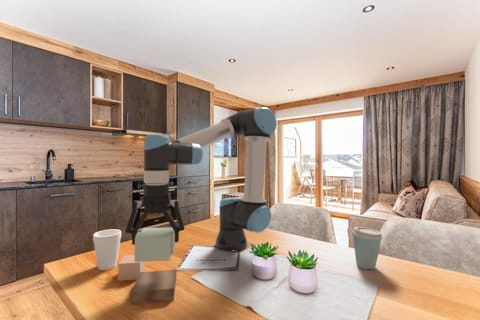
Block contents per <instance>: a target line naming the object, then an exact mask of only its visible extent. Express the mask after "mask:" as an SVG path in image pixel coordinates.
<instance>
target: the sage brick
mask: <svg viewBox="0 0 480 320" xmlns="http://www.w3.org/2000/svg"><path fill="white" fill-rule="evenodd" d="M173 231H174V230H173V228H172V227H143V229H142V230H141V231H140V233H139V234H138V235H137V237H136V238H135V245H134V255H135V262H144V263H145V262H167V261H170V260H171V258H172V255H173V254H172V233H173Z"/></svg>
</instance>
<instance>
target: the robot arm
mask: <svg viewBox="0 0 480 320" xmlns="http://www.w3.org/2000/svg"><path fill="white" fill-rule="evenodd" d="M276 129H277V119H276V116H275V114H274V112H273V111H272V110H271V109H270V108H268V107H265V106H264V107H256V108H251V109H247V110H241V111H238V112H236V113H234V114H232V115H230V116H228V117H225V118H223V119H221V120H220V122H218V123H216V124H213V125H211V126H209V127H205V128H203V129H201V130H198V131H195V132H192V133H191V134H188V135H185V136H183V137H180V138H178V139H175V140H173V141H171V140H170V136H169V135H166V134H165V135H164V134H148V135H146V136H145V137H144V142H143V166H144V167H143V183H145V184H144V185H143V199H142V200H137V199H136V200H134V201H133V202H132V210H131V213H130V216H129V219H128V222H127V226H126V227H125V228H126V229H125V233H126V234H131V244H132V245H133V246H135V238H136V237H137V235H138V234H139V233H140V232H141V231H140V232H139V230H140V228H141V226H142V225H143V223H144V222H145V220H146V218H147V217H148V215H149V214H151V215H153V214H163V216H164V217H165V218H166V220H167V223H169V225H170V228H173V230H174V231H173V233H172V255H174V254H175V253H176V243H179V239H180V236H179V235H180V232H182V231H184V230H185V227H186V226H185V223H184V220H183V216H182V213H181V211H180V207H179V201H180V200H179V199H178V198H177V199H170V196H169V195H170V193H169V192H170V186H169V182H170V166H172V165H175V166H176V165H180V166H183V165H184V166H185V165H186V166H187V165H189V166H193V165H198V164H200V163H201V162H202V159H203V153H204V151H203V149H206V148H207V147H210V146H212V145H214V144H216V143H218V142H221V141H223V140H225V139H227V140H230V139H232V138H235V137H242V136H243V139H244V140H246V153H245V154H246V155H245V156H246V157H245V158H246V159H245V170H244V171H245V173H244V185H243V186H244V187H243V188H244V189H243V196H235V197H234V196H233V197H224V198H222V199H221V200H220V202H219V231H218V234H217V237H216V240H215V247H216V248H217V249H219V250H222V251H225V252H233V251H232V250H238V251H241V250H244V249H246V248H247V246H248V240H247V236H246V233H245V230H246V231H249V232H251V233H253V232H254V233H262V232H264V231H265V230H267V227H268V226H269V225H270V223H271V219H272V210H270V208H269V207H268V206H267V200H266V198H265V197H264V191H265V175H266V174H265V173H266V171H265V170H266V154H267V143H268V142H269V141H270V140H271V135H272V134H273V133H274V132H275V131H276ZM141 205H142V206H143V207H144V209H145V210H144V211H143V213H142V215H141V217H140V219H139V220H138V222H137V223H136V225H135V227H134V228H133V226H134V224H135V221H136V217H137V214H138V211H139V208H141V207H142V206H141ZM169 205H171V206H172V208H173V209H174V212H175V215H176V219H177V222H178V225H177V223H176V221H175V219H174V218H173V217H172V215H171V213H170V211H169V209H168V206H169Z"/></svg>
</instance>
